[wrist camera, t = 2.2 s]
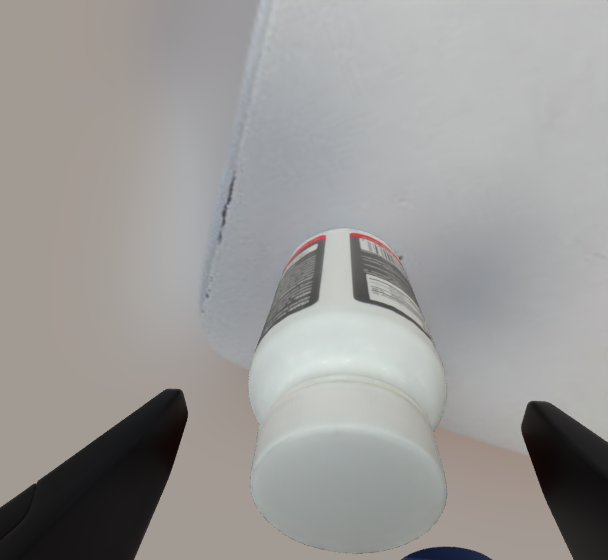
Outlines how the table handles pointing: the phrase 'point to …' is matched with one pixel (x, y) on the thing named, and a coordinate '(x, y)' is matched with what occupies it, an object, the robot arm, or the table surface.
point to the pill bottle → (347, 401)
